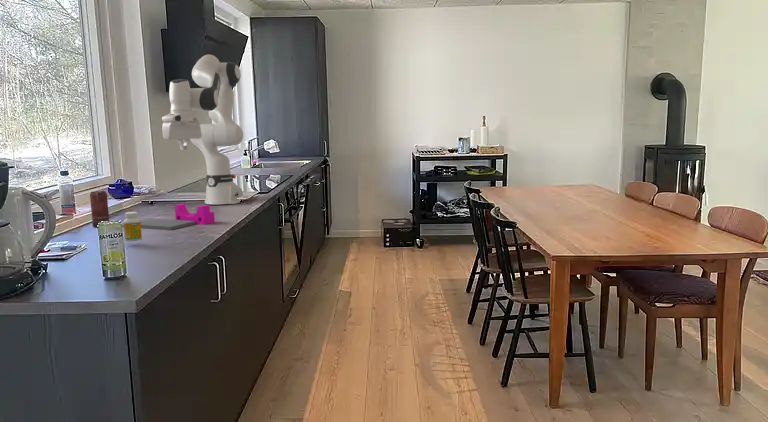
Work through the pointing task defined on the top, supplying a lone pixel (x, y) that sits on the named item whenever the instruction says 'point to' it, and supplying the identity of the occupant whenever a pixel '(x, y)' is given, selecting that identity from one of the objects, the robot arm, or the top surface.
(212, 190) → the robot arm
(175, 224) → the slate pad
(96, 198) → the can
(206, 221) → the toy block
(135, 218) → the supplement bottle
